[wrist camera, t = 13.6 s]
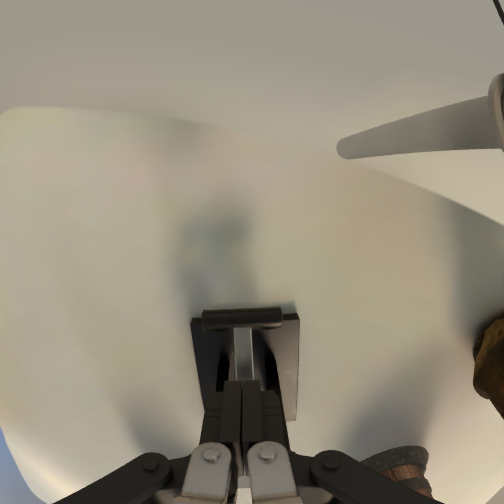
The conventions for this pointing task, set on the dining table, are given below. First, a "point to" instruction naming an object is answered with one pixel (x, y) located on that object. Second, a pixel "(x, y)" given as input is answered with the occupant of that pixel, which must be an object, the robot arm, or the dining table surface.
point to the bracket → (264, 362)
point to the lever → (242, 339)
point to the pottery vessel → (491, 364)
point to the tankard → (403, 467)
